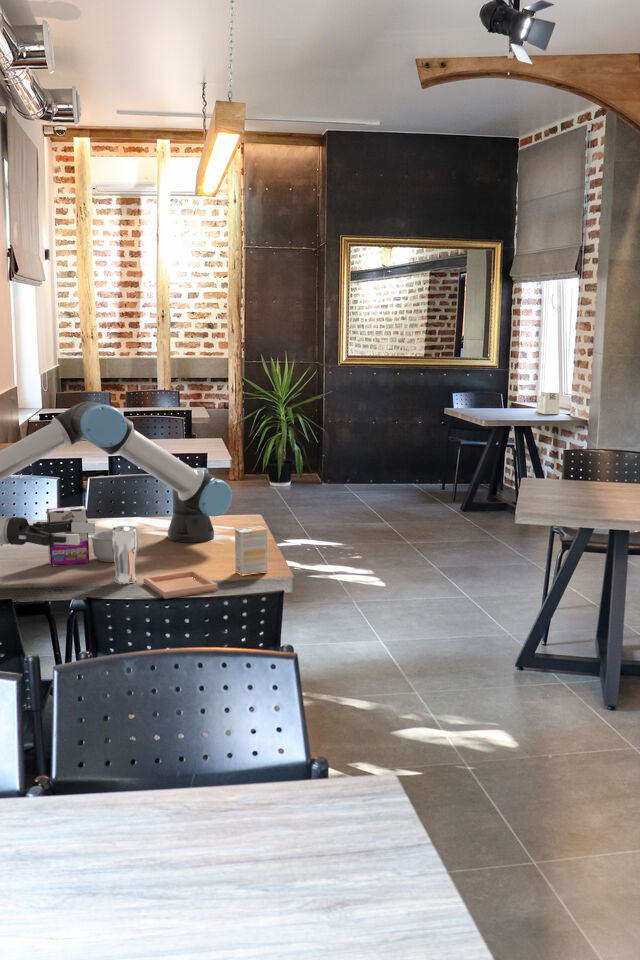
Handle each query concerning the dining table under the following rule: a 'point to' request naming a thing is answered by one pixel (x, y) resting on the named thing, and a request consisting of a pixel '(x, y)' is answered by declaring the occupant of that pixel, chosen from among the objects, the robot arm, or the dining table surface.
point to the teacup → (103, 546)
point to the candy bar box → (65, 552)
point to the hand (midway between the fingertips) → (87, 533)
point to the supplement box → (251, 550)
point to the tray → (180, 584)
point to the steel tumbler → (124, 553)
